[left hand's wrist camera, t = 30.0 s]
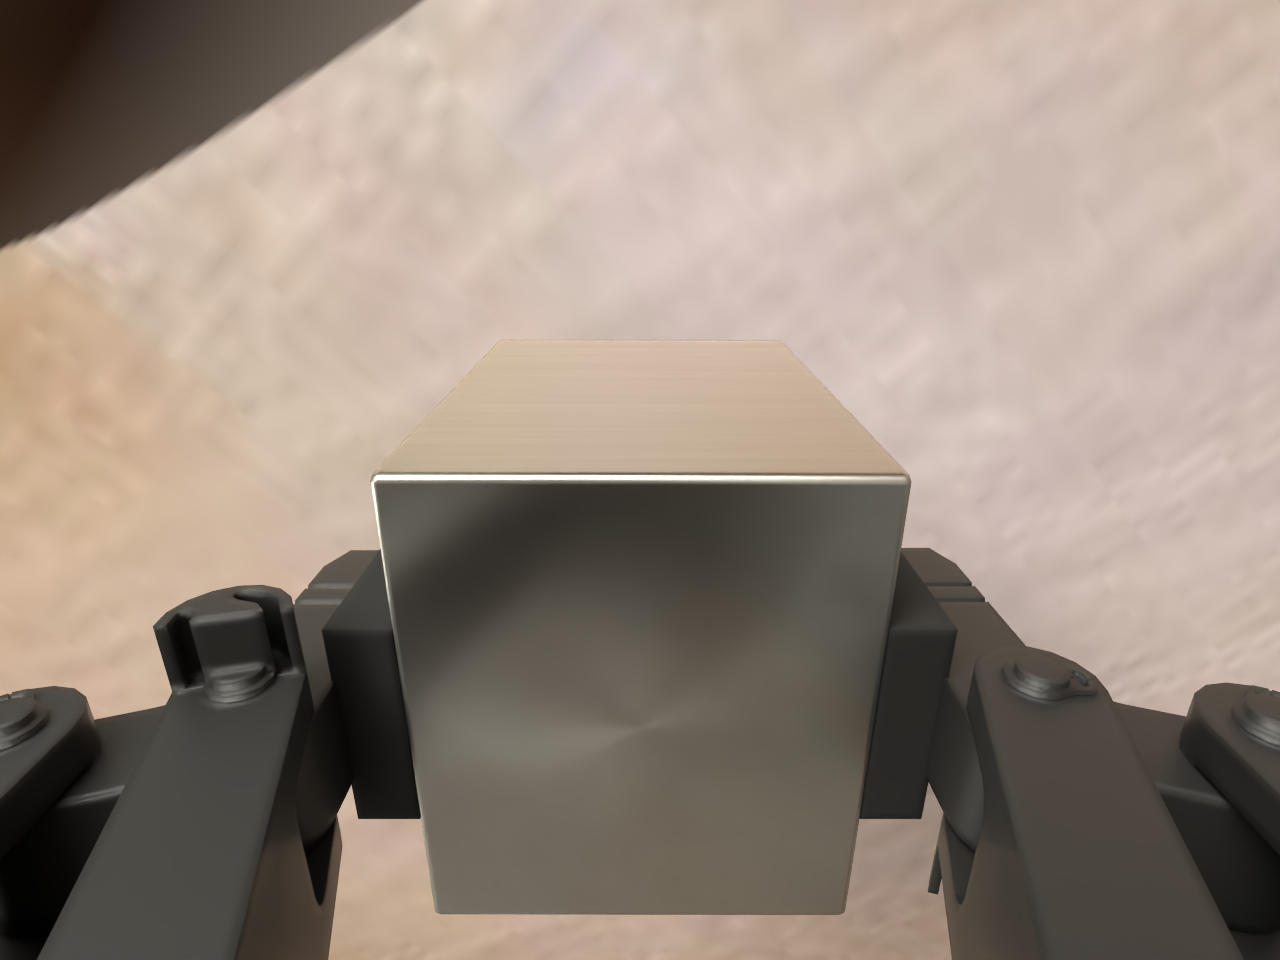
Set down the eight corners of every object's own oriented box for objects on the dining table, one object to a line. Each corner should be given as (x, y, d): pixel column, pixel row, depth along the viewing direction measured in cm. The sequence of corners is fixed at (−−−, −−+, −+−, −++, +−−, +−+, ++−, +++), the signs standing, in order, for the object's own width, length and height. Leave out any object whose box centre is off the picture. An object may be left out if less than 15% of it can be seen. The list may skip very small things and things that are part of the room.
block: (761, 618, 16) (846, 918, 9) (518, 618, 16) (433, 917, 9) (782, 339, 13) (916, 475, 7) (498, 339, 13) (365, 474, 7)
